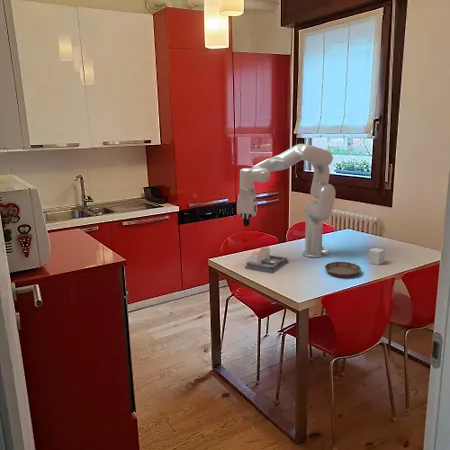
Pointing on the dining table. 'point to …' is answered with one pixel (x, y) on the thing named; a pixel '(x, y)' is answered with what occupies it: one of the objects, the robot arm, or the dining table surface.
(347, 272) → the plant saucer
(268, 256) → the white orange-topped block
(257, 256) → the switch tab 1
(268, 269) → the grey compartment tray
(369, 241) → the dining table surface
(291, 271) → the dining table surface
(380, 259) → the product box
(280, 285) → the dining table surface
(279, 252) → the dining table surface
